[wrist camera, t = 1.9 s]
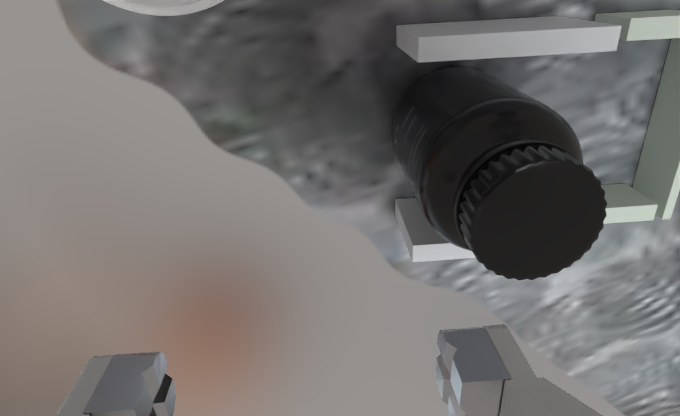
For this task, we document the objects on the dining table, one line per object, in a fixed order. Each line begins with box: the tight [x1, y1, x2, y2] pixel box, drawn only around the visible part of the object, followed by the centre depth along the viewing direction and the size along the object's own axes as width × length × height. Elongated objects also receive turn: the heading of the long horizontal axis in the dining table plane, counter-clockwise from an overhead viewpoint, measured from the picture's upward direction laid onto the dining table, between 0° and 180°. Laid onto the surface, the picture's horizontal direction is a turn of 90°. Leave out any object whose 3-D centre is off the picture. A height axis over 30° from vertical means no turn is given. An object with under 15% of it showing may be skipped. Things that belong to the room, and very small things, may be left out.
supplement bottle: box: [392, 67, 607, 280], centre depth 21 cm, size 7×7×12 cm
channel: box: [395, 16, 622, 262], centre depth 24 cm, size 11×8×6 cm
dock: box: [594, 9, 680, 224], centre depth 25 cm, size 11×5×3 cm, turn 3°
